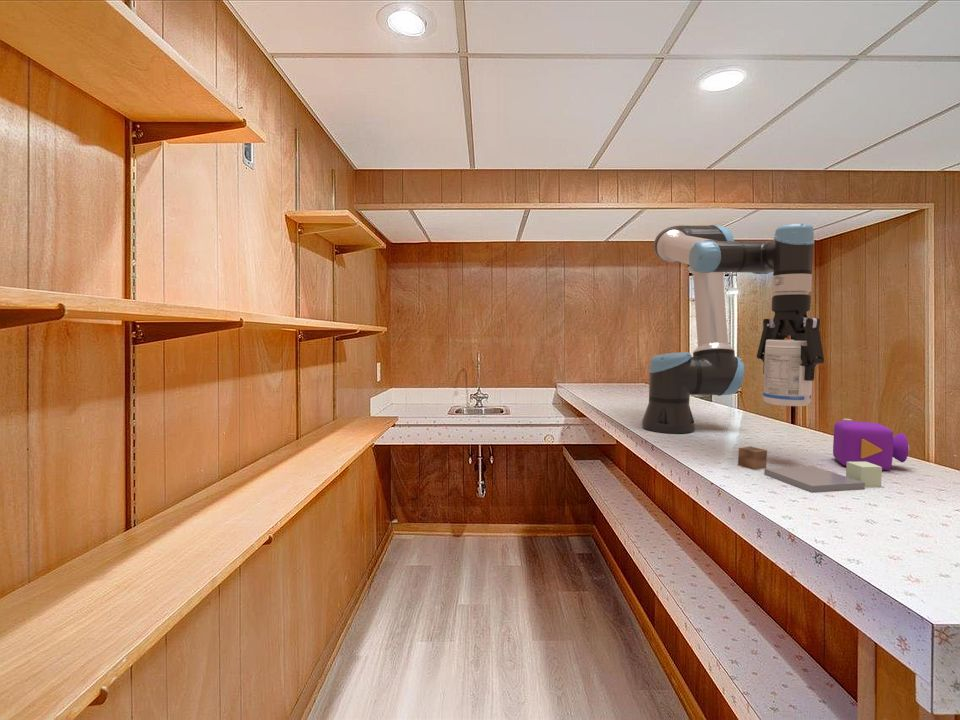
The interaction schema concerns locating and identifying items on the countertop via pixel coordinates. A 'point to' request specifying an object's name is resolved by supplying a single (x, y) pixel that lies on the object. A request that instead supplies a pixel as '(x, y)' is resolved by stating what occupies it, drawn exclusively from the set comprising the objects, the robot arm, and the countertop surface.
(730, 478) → the countertop surface
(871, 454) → the toy camera
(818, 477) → the slate coaster
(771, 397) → the supplement tub
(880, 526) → the countertop surface
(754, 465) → the walnut block
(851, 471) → the pale green cube
